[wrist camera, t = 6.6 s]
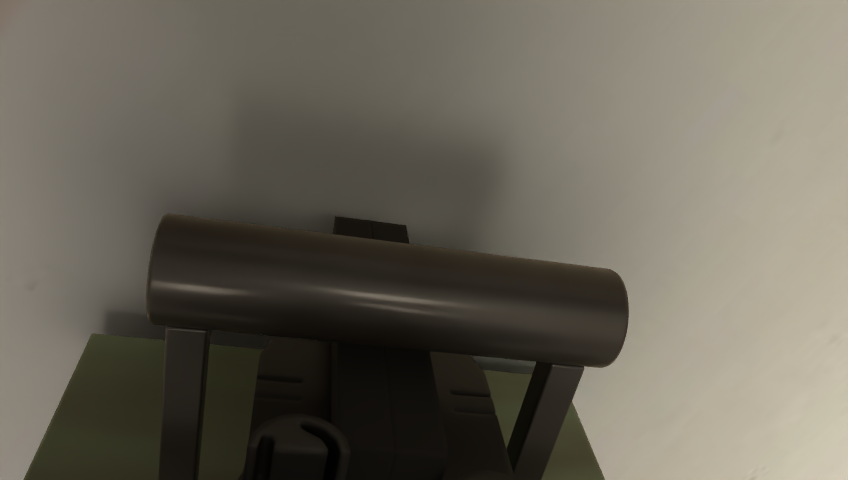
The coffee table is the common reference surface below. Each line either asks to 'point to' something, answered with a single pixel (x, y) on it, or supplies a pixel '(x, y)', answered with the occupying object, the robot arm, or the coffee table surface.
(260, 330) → the drawer
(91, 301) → the coffee table surface
